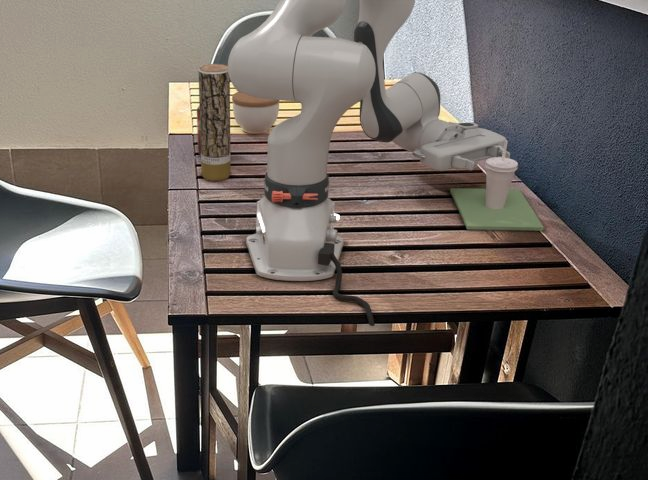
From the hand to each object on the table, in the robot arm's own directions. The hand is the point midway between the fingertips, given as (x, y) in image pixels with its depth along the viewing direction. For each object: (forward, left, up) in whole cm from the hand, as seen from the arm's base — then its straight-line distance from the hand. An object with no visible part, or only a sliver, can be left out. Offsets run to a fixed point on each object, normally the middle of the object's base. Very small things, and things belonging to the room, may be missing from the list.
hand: (491, 161), depth 167 cm
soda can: (+30, +60, -10) cm, 68 cm away
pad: (-2, -2, -10) cm, 10 cm away
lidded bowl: (+50, +50, -10) cm, 71 cm away
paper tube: (+15, +58, -10) cm, 61 cm away
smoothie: (-2, -2, -9) cm, 10 cm away
